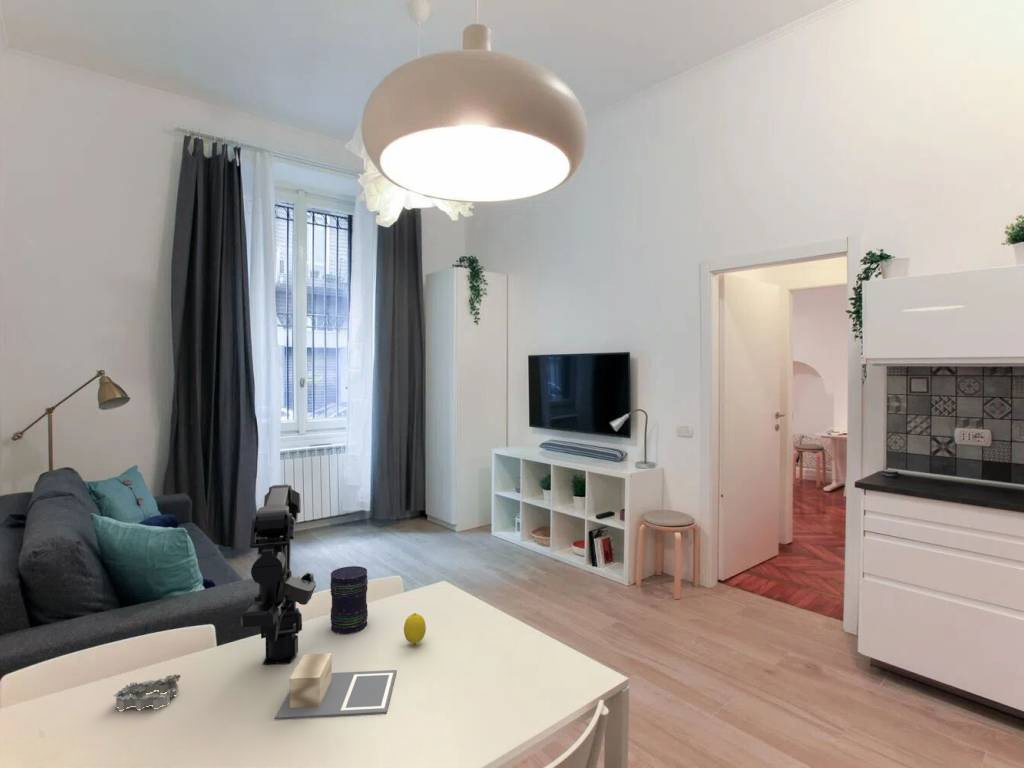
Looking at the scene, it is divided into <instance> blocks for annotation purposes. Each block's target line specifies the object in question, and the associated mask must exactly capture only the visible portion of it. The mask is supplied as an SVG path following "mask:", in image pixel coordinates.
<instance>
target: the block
mask: <svg viewBox="0 0 1024 768" xmlns="http://www.w3.org/2000/svg"><path fill="white" fill-rule="evenodd" d="M332 658H333V657H332V652H328V653H327V652H325V653H308V654H306V653H305V654H303V656H302V657H301V658H300V660H299V663H298V664H297V666H296V667H295V669H294V671H293V673H292V674H291V676H290V677H289V691H290V708H296V707H316V706H320V705H321V702H322V700H323V698H324V696H325V694H326V691H327V689H328V687H329V685H330V683H331V680H332V673H333V671H332V670H333V668H332V666H333V665H332V663H333V661H332V660H333V659H332Z"/></svg>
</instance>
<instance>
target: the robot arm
mask: <svg viewBox="0 0 1024 768" xmlns="http://www.w3.org/2000/svg"><path fill="white" fill-rule="evenodd" d="M263 501H264V502H263V506H261V507H259V508H258V509H257V511H256V513H255V515H253V516H252V519H251V529H250V539H249V540H250V541H249V542H250V543H249V548H250V549H257V555H256V557H255V559H254V562H253V563H252V566H251V569H250V573H251V574H250V575H251V578H252V579H253V581H254V583H257V594H256V595H255V596H254V603H257V602H261V603H260V604H252V605H251V606H249V608H248V609H247V610H246V611H245V612H244V613H243V614H242V615H241V616H240V626H241V627H242V628H250V627H251V628H252V627H253V628H254V627H260V638H261V639H265V658H264V660H263V661H262V664H263V665H278V664H280V665H281V664H290V663H291V662H292V661H293V660H294V658H295V657H296V656H297V654H298V653H299V635H298V634H299V632H301V631H302V630H303V615H302V613H301V612H300V608H299V607H297V603H298V604H299V605H302V606H306V605H307V604H308V603H309V601H310V600H311V599H312V596H313V593H314V590H315V588H316V587H317V585H316V583H317V582H316V581H315V578H314V574H313V573H311V572H309V571H308V572H305V573H304V574H303V576H301V577H300V576H297V577H296V576H293V575H292V570H291V553H292V551H291V550H292V548H291V547H292V540H294V537H295V525H296V524H297V522H298V520H299V519H298V518H299V514H301V510H302V508H301V507H302V505H301V494H300V493H299V492H298V491H296V490H295V489H293V488H292V485H291V484H290V485H289V484H288V483H287V484H273V485H271V486H269V488H268V492H267V493H266V494H265V495H264V500H263ZM261 639H260V640H261Z"/></svg>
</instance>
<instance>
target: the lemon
mask: <svg viewBox="0 0 1024 768" xmlns="http://www.w3.org/2000/svg"><path fill="white" fill-rule="evenodd" d="M426 627H427V625H426V621H425V618H424V617H423V616H422V615H421V614H419V613H417V612H414V613H412V614H409V616H407V618H406V620H405V621H404V626H403V634H404V637H405V639H406V641H408V642H409V643H412V644H413V645H417V644H418V643H419V642H421V641H422V640H423V638H424V637H425V635H426V629H427V628H426Z"/></svg>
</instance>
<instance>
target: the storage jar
mask: <svg viewBox="0 0 1024 768" xmlns="http://www.w3.org/2000/svg"><path fill="white" fill-rule="evenodd" d="M329 584H330V586H329V587H330V591H329V592H330V595H331V608H330V625H331V626H330V630H331V632H332V631H333V632H332V633H334V632H335V634H337V633H339V634H338V635H351V633H352V634H356V633H359V632H361V631H364V630H365V629H366V628H367V627H368V615H369V612H368V611H369V609H368V604H367V592H368V569H367V568H365V567H364V566H359V565H358V566H357V565H355V566H353V565H351V566H349V565H348V566H343V567H339V568H335V570H333V571H331V572H330V583H329ZM366 626H367V627H366ZM365 627H366V628H365ZM364 628H365V629H364Z"/></svg>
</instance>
